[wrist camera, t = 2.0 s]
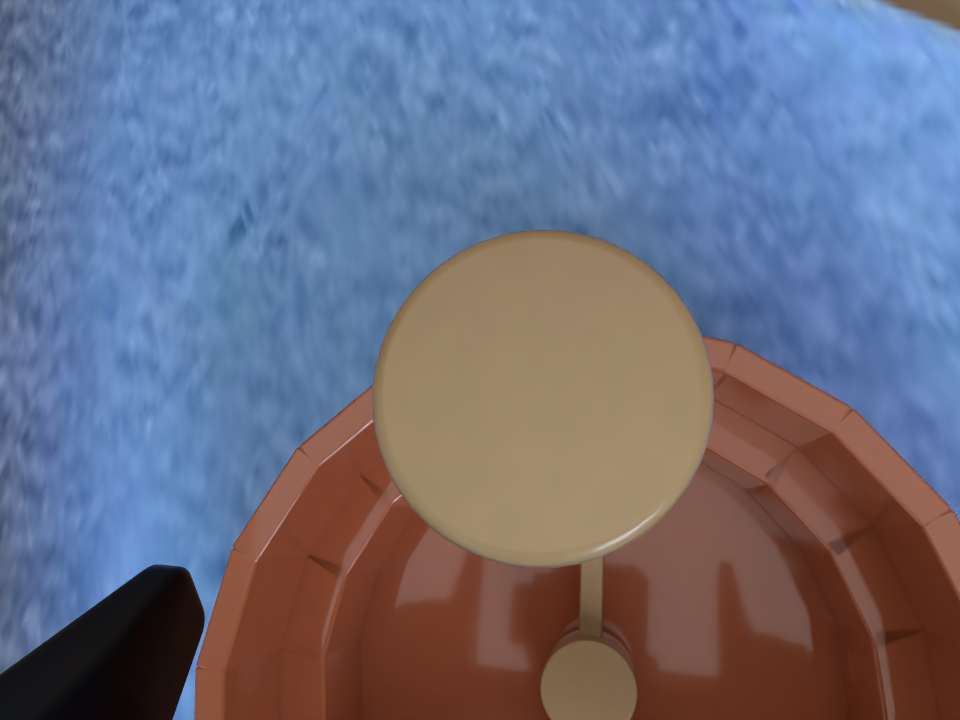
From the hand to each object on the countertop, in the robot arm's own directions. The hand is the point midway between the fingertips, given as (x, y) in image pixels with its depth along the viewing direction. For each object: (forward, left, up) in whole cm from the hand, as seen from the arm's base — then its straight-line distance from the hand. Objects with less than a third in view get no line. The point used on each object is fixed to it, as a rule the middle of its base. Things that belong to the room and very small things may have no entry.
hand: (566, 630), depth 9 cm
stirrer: (-2, -1, -10) cm, 10 cm away
